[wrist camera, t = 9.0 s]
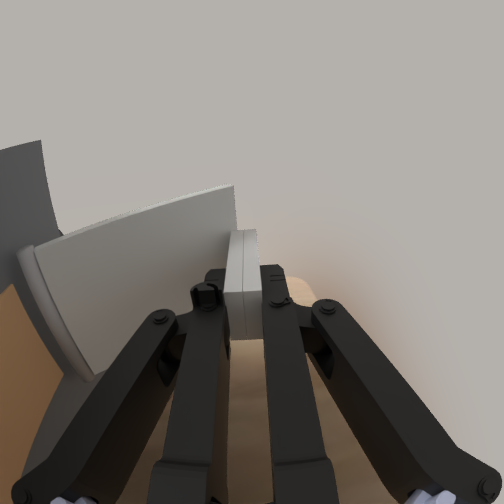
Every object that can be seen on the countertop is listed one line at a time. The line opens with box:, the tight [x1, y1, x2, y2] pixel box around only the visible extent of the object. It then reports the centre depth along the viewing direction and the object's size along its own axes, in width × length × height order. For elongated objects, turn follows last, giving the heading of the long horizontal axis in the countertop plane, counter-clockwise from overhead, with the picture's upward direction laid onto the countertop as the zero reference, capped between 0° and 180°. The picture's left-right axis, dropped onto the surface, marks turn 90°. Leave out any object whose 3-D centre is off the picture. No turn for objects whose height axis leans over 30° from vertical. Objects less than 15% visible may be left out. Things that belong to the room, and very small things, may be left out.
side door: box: [16, 184, 237, 383], centre depth 14 cm, size 12×1×8 cm, turn 132°
